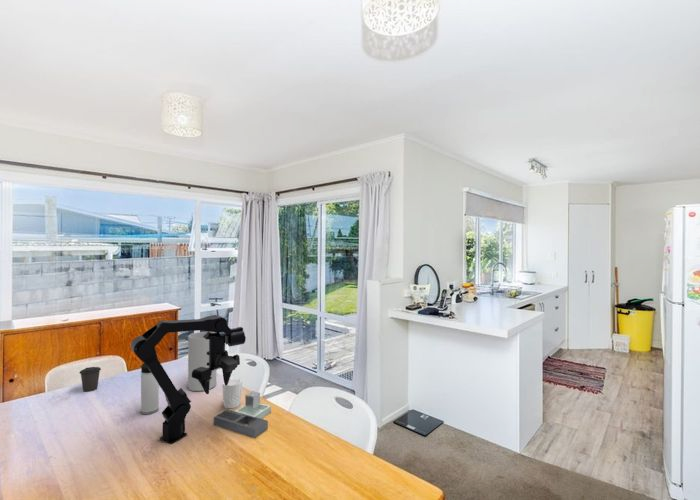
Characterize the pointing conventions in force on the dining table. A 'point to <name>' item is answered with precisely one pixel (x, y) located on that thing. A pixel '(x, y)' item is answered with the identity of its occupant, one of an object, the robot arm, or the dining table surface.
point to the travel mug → (149, 391)
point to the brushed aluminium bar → (252, 403)
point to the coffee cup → (90, 378)
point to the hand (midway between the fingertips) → (217, 389)
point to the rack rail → (241, 423)
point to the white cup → (232, 393)
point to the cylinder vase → (198, 359)
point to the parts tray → (263, 412)
